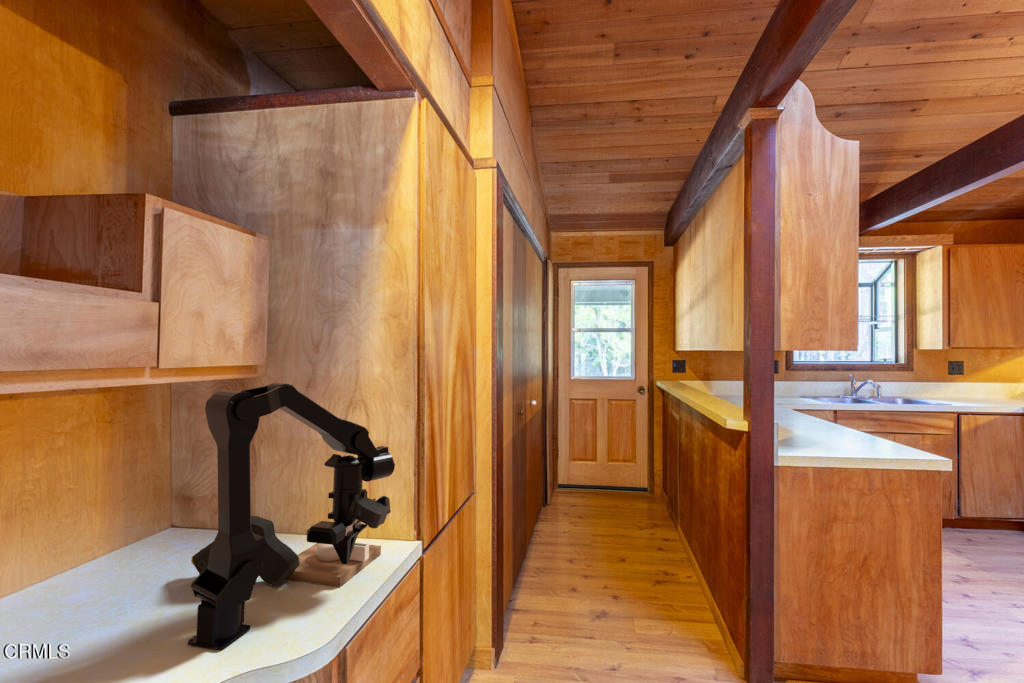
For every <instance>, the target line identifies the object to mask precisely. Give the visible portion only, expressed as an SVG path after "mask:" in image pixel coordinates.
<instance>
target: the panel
mask: <svg viewBox="0 0 1024 683" xmlns="http://www.w3.org/2000/svg"><path fill="white" fill-rule="evenodd" d="M317 544H318V543H314V545H312V546H309V547H308V548H306V549H305V550H303V551H302V552H300V553H298V554H297V556H298V557H299V563H300V565H299V566H298V567H297V569H296V570H295V571H294V572H293V573H292V574H291V575H290V576H289V578H288V579H287V580H286V581H290V582H291V581H293V582H298V583H305V584H312V585H313V584H314V585H320V586H326V587H335V588H336V587H337V588H341V587H342V586H344V585H345V584H346V583H348V582H349V581H351V579H353V577H355V576H356V575H357V574H359V573H360V572H362V570H364V569H365V568H366V567H368V566H369V564H371V563H372V562H373V561H375V560H376V559H377V558H378V557H380V556H381V555H382V553H381V552H382V545H377V544H376V545H375V544H369V558H368V559H367V560H366V561H356V560H349V562H348V563H347V564H342V563H341V561H340V559H338V560H334V561H321V560H318V559H317V558H316V557H317Z"/></svg>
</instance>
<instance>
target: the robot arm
mask: <svg viewBox="0 0 1024 683" xmlns="http://www.w3.org/2000/svg"><path fill="white" fill-rule="evenodd" d="M204 407H205V409H204V410H205V411H204V412H205V417H206V421H207V425H208V429H209V431H210V434H211V436H212V438H213V440H214V442H215V445H216V447H217V448H216V449H217V450H216V451H217V456H216V458H217V518H218V520H217V522H218V529H217V534H216V536H215V537H214V540H213V541H214V542H213V541H212V542H213V544H212V546H211V548H210V553H209V559H208V565H207V566H206V567H205V568H204V570H203V571H202V572H201V573H200V574H199V573H198V574H199V575H198V576H197V577H196V578H195V579H194V580H193V581H192V583H191V584H190V585H189V587H190V590H191V592H192V595H193V596H194V597H195V598H199V599H200V600H201V601H200V603H199V604H198V605H197V616H196V617H197V618H196V634H195V635H194V636H192V637H191V638H190V639H188V640H187V645H189V646H195V647H201V648H205V649H211V650H218V651H221V650H224V649H225V648H226V647H229V645H231V644H232V643H234V642H235V641H237V639H239V638H241V637H242V636H244V635H245V634H246V633H247V632H249V631H250V630H251V628H252V625H251V624H244V622H245V606H246V604H245V603H246V602H247V601H249V600H250V599H251V597H252V594H253V591H254V589H255V585H256V583H257V580H258V578H259V577H260V575H261V572H262V568H263V562H266V561H267V560H266V558H265V553H264V551H265V538H264V537H262V536H259V535H256V534H254V533H253V532H252V529H251V516H252V508H251V507H252V501H251V500H252V499H251V497H252V496H251V492H252V491H251V484H252V483H251V443H252V441H253V438H254V436H255V435H256V433H257V431H258V428H259V426H260V418H262V417H264V416H267V415H270V414H273V413H274V412H277V411H278V410H281V411H283V412H285V413H286V414H288V415H290V416H291V417H293V418H294V419H296V420H298V421H299V422H301V423H302V424H304V425H306V426H307V427H309V428H311V429H312V430H313V431H315V432H316V433H318V434H319V435H320V436H321V438H322V440H323V442H325V443H326V445H327V446H329V448H331V449H332V450H333V451H335V452H340V453H345V454H348V455H344V456H342V455H341V454H336V453H333V454H331V456H330V458H328V459H327V460H326V461H325V462H324V463H323V464H324V467H328V468H333V482H332V483H333V484H332V491H331V492H328V496H327V497H328V499H332V507H331V509H332V510H331V511H330V512H328V513H327V519H328V520H333V521H327V520H321V521H319V522H317V523H315V524H312V525H311V526H310V527H309V528H308V529H307V530H306V542H307V543H311V544H312V543H314V544H316V543H321V544H330V545H333V546H334V548H335V550H336V552H337V554H338V557H339V559H340V561H341V563H342V564H347V563H348V562H349V560H350V557H351V554H352V551H353V548H354V545H355V543H357V539H358V537H359V535H360V534H361V533H362V531H364V529H366V528H367V527H368V528H370V529H374V530H375V529H378V528H379V526H381V525H383V524H384V523H385V521H386V519H387V516H388V515H389V514H390V513H391V512H392V510H391V503H390V497H388V496H386V495H382V496H380V497H379V498H378V499H377V500H376V498H373V499H372V498H370V497H368V491H367V489H364V488H363V481H364V482H372V481H376V480H377V481H378V480H380V479H383V478H388V477H391V475H392V474H393V473H394V471H395V466H396V463H395V461H394V458H393V456H392V454H391V453H390V452H389V446H384V445H379V446H377V447H376V446H375V445H374V443H373V441H372V440H371V438H370V435H369V434H370V432H369V430H368V429H367V427H365V426H363V425H360V424H358V423H357V422H356V423H355V422H353V421H350V420H346V419H343V418H340V417H338V416H336V415H335V414H333V413H332V412H331V411H328V410H327V409H326V408H324V407H323V406H321V405H319V403H317V402H315V401H314V400H312V399H311V398H309V397H308V396H306V395H305V394H303V393H302V392H301V391H299V390H297V388H295V386H294V385H292V384H290V383H284V382H283V383H281V382H273V383H270V384H267V385H264V386H263V385H262V386H259V387H253V388H248V389H242V390H231V389H230V390H229V389H222V390H219V391H218V390H217V392H215V393H213V394H212V395H211V396H210V397H209V398H208V399H207V400H206V403H205V406H204ZM355 455H356V456H357V457H355Z"/></svg>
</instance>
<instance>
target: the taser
mask: <svg viewBox="0 0 1024 683" xmlns="http://www.w3.org/2000/svg"><path fill="white" fill-rule="evenodd" d="M251 529H252V532H253V533H254V534H256V535H259V536H262V537H264V538H265V551H264V553H265V558H266V560H267V561H266V562H263V568H262V572H261V575H260V576H259V577H260V579H261V580H262V581H263V582H265V583H266V584H268V585H270V586H271V587H273V588H278V587H279V586H280V585H282V584H283V583H284V582H285V581H288V580H287V579H288V578H289V576H290V575H291V574H292V573H293V572H294V571H295V570H296V569H297V567H298V566H299V565H300V563H299V557H298V556H297V555H298V554H297V553H296V552H295V551H294V550H293V549H292V548H291V547H290V546H289V545H287V544H286V543H285V542H283V541H282V540H280V539H279V538H278V536H277V534H276V531H275V523H274V521H272V520H270V519H266V518H264V517H261V516H257V515H251ZM213 542H214V540H213V541H212V542H210V543H209V544H208V545H207V546H205V547H202V548H201V549H199V551H198V552H196V553H195V554H194V555H192V556H191V559H190V561H191V564H192V565H193V566H194V568H195V570H197V573H198V574H200V573H201V572H202V571H203V570H204V568H205V567H206V566H207V565H208V559H209V553H210V548H211V546H212V544H213Z"/></svg>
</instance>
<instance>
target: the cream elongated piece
mask: <svg viewBox="0 0 1024 683" xmlns="http://www.w3.org/2000/svg"><path fill="white" fill-rule="evenodd" d="M369 545H370V544H369V543H364V542H363V543H362V542H355V545H354V548H353V551H352V554H351V557H350V560H356V561H366V560H367V559H368V558H369ZM316 558H317V559H318V560H321V561H334V560H338V559H339V557H338V554H337V552H336V550H335V548H334V546H333V545H330V544H321V543H318V544H317V557H316Z"/></svg>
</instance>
